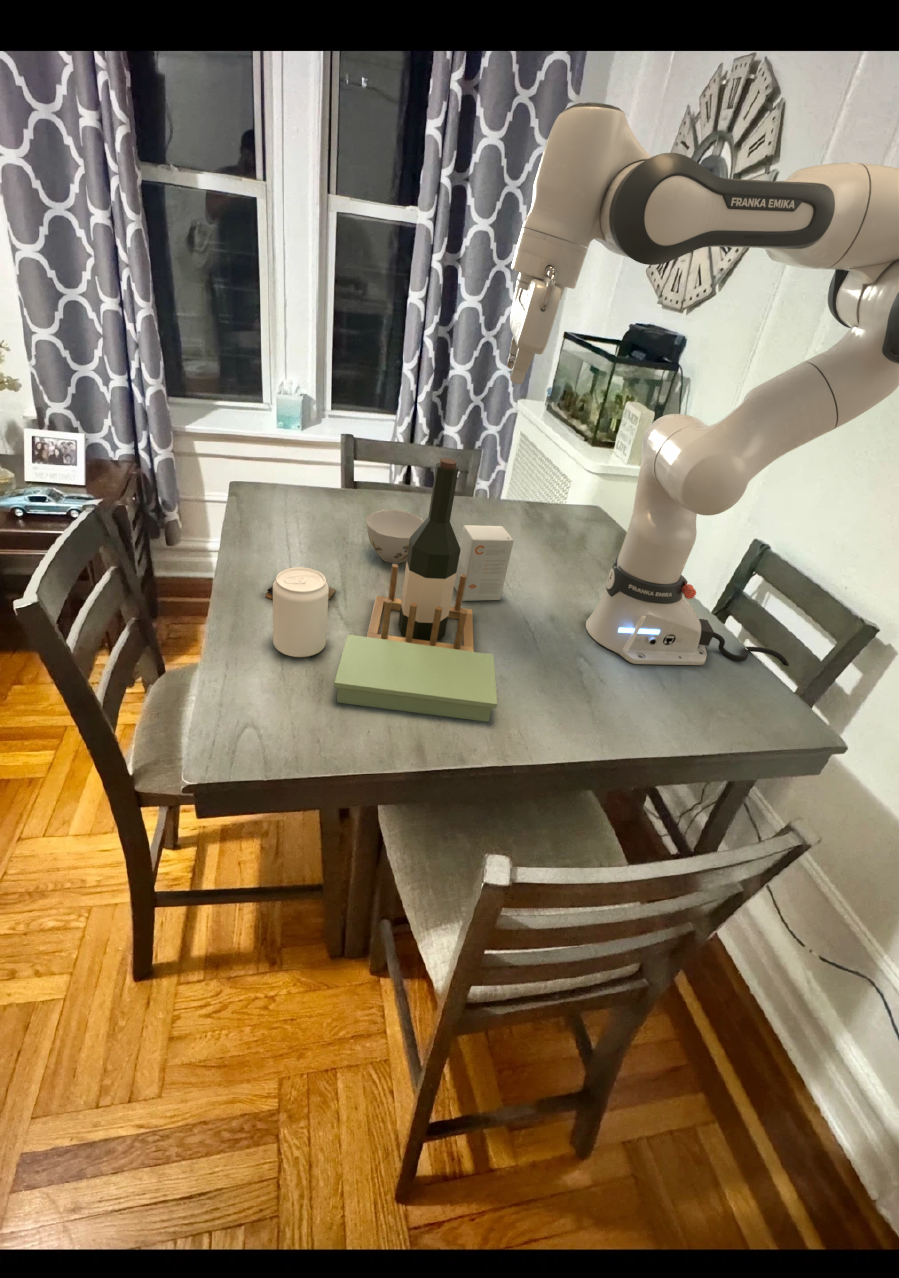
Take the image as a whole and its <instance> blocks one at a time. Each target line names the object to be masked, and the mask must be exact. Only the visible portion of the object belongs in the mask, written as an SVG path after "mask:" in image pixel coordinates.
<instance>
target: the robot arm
mask: <svg viewBox="0 0 899 1278" xmlns="http://www.w3.org/2000/svg"><path fill="white" fill-rule="evenodd" d="M593 240H595V241H596V242H599V243H600V244H602V245H603V247H604V248H606V249H607V250H608V251H610V252H611V253H613V254H615V255H619V256H622V257H626V258H630V259H631V260H633V261H635V262H636V263H638V264H642V265H649V266H657V265H662V264H666V263H669V262H672V261H674V260H677V259H679V258H681V257H683V256H685V255H687V254H689V253H691V252H694V251H696V250H700V249H703V248H754V249H764V250H765V252H766V255H767V256H768V258H769V259H770V260H771V261H773V262H776V263H779V264H782V265H786V266H790V267H795V268H800V269H801V268H802V269H809V270H831V271H832V270H833V271H834V272H833V275H832V278H831V280H830V284H829V287H828V292H827V306H828V310H829V312H830V314H831V315H832V317H833V318H834V319H835V320H836V321H837V322H838V323H839V324H841V325H842V326H843V327H846V328H848V331H847V332H846V333H845V335H844V336H843V337H842V338H841V339H839V340H838V341H837V342H836V343H835V344H834V345H832V346H831V347H830V348H828V349H827V350H825V351H822V352H821V353H819V354H816V355H814V356H813V357H810V358H809V359H808V358H807V359H806V360H804V361H802V362H800V363H799V364H797V365H795V366H793V367H791V368H789V369H787V370H785V371H784V372H781V373H779V374H778V375H776V376H773V377H772V378H770V379H768V380H766V381H764V382H763V383H761V384H758V385H757V386H754V387H752V388H751V389H750V390H749V391H748V392H747V393H746V395H745V396H744V398H743V400H742V402H740V404H738V406H737V407H736V408H735V409H734V410H732V411H731V412H730V413H728V414H727V415H726V416H724V418H722V419H720V420H719V421H717V422H716V423H713V424H709V425H708V424H706V423H705V422H703V421H702V420H701V419H699V418H698V417H696V416H693V415H688V414H683V413H669V414H665V415H663V416H661V417H658V418H657V419H656V420H654V421H653V422H652V423H651V424H650V425H649V426H648V427H647V428H646V430H645V432H644V434H643V436H642V439H641V440H642V441H641V459H640V467H639V472H638V477H637V484H636V489H635V494H634V495H635V496H634V502H633V509H632V514H631V516H630V522H629V525H628V527H627V531H626V534H625V536H624V540H623V542H622V546H621V548H620V551H619V554H618V556H616V558H615V559H614V561H613V564H612V566H611V568H610V570H609V572H608V576H607V579H606V583H605V589H604V592H603V594H602V596H601V598H600V600H599V601H598V604H597V605H596V607H595V608H594V610H593V612H592V613H591V615H589V617H588V618H587V619H586V621H585V629H586V631H587V633H588V634H589V636H590V637H591V638H592V639H593V640H594V641H595V642H597V643H598V644H599V645H601V646H603V647H604V648H606V649H608V650H610V651H612V652H614V653H616V654H618V655H620V656H621V657H622V658H623V659H624V660H626V662H627V661H628V662H629V663H631V664H633V665H667V666H668V665H671V666H704V665H705V663H706V659H707V656H708V653H707V648H706V646H707V647H709V646H710V643H711V642H712V640H713V638H714V639H716V640H717V641H718V646H717V647H718V651H719V652H720V653H721V654H722V655H723V656H725V657H726V658H728V659H730V660H734V661H737V662H738V661H739V662H743V661H747V659H748V658H749V653H762V654H767V655H770V656H772V657H775V658H776V659H778V660H779V661H780V662H781V664H782V665H783V666H786V667H789V666H790V663H789V662H788V660H787V658H786V657H785V656H784V655H783V654H781V653H780V652H778V651H775V650H773V649H771V648H767V647H761V646H746V648H747V649H748V650H746V649H745V647H743V648H742V650H741V651H742V652H741V655H738V654H734V653H732V652H730V651H728V650H727V649H726V648H725V645H726V640H725V639H724V637H723V636H722V635H721V634H719V633H717V632H715V631H714V629H713V627H712V625H711V624H710V622H709V620H708V619H705V618H700V617H699V616H698V614H697V613H696V611H695V610H694V609H693V607H692V606H691V605H690V603H689V602H688V600H692V599H693V598H695V597H696V596H697V590H696V589H695V588H694V586H693V584H689V583H688V580H687V578H686V577H685V576H684V575H682V574H683V571H684V569H685V566H686V564H687V562H688V559H689V557H690V555H691V552H692V550H693V548H694V546H695V543H696V539H697V534H698V533H697V532H698V531H697V515H700V516H715V515H719V514H722V513H724V512H726V511H728V510H730V509H731V508H733V507H734V506H735V505H736V504H737V503H738V502H739V501H740V500H741V499H742V497H743V496H744V494H745V493H746V491H747V488H748V486H749V483H750V482H752V480H753V479H754V478H755V477H756V476H757V475H759V474H760V473H761V472H762V471H763V470H765V468H767V467H768V466H769V465H771V464H772V463H774V462H775V461H777V460H778V459H779V458H781V457H783V456H785V455H786V454H788V453H790V452H792V451H794V450H797V449H798V448H800V447H801V446H804V445H806V444H808V443H810V442H812V441H813V440H815V439H818V438H819V437H821V436H824V435H825V434H828V433H829V432H832V431H833V430H836V429H837V428H840V427H842V426H843V425H845V424H847V423H849V422H850V421H853V420H854V419H856V418H858V417H859V416H861V415H863V414H864V413H866V412H867V411H869V410H871V409H872V408H873V407H875V406H876V405H878V404H880V403H881V402H883V401H884V400H885V399H886V398H888V397H889V396H891V395H892V394H893V393H894V392H895V391H896V390H897V389H898V387H899V168H898V167H894V166H888V165H887V166H886V165H881V164H874V163H865V162H864V163H863V162H835V163H833V162H832V163H824V164H817V165H811V166H807V167H803V168H799V169H796V171H794V172H792V173H791V174H790V175H788V177H787V178H785V180H761V179H742V178H728V177H722V176H718V175H716V174H714V173H713V172H712V171H709V170H708V169H707V168H705V167H704V166H703V165H701V163H699V162H697V160H694V159H693V158H691V157H689V156H687V155H685V154H682V153H679V152H664V153H659V154H656V155H653V156H651V155H650V154H649V153H648V152H647V150H646V149H645V148H644V147H643V146H642V144H641V143H640V142H639V140H638V139H637V138H636V135H635V134H634V132H633V131H632V128H631V127H630V125H629V123H628V120H627V116H626V113H625V111H623V110H622V109H621V108H619V107H618V106H615V105H612V104H607V103H603V102H579V103H575V104H572V105H570V106H568V107H567V108H565V109H564V110H563V111H562V112H560V113H559V114H558V116H557V117H556V119H555V121H554V123H553V124H552V127H551V129H550V132H549V135H548V137H547V139H546V143H545V145H544V149H543V151H542V154H541V158H540V160H539V164H538V168H537V171H536V175H535V178H534V182H533V187H532V200H531V205H530V208H529V210H528V213H527V215H526V217H525V219H524V221H523V223H522V226H521V229H520V233H519V237H518V241H517V244H516V247H515V251H514V254H513V259H512V262H511V266H510V268H511V270H512V271H515V272H517V273H518V275H517V279H516V283H515V288H514V295H513V300H512V304H511V305H512V306H511V311H510V316H509V328H510V330H511V333H512V338H511V341H510V342H511V343H510V347H509V354H508V358H507V361H506V366H507V368H508V369H509V370H511V372H510V375H509V380H510V382H511V383H513V384H516V385H522V384H523V383H524V381H525V378H526V375H527V372H528V370H529V368H530V366H531V364H532V361H533V359H534V357H535V355H542V354H544V352H545V350H546V348H547V345H548V343H549V339H550V336H551V333H552V329H553V327H554V323H555V320H556V316H557V312H558V309H559V306H560V301H561V300H562V299H563V296H564V292H565V290H566V288H567V289H573V290H574V289H576V287H577V284H578V281H579V278H580V275H581V272H582V268H583V266H584V263H585V260H586V258H587V257H586V256H587V253H588V252H589V251H588V250H589V247H590V245H591V243H592V241H593ZM687 599H688V600H687Z"/></svg>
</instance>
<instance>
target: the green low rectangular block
mask: <svg viewBox="0 0 899 1278" xmlns="http://www.w3.org/2000/svg"><path fill="white" fill-rule="evenodd" d="M333 687H334V688H337V694H336V695H337V696H336V703H338V704H346V705H354V706H360V707H361V706H362V707H369V708H376V709H377V708H378V709H385V710H394V711H400V712H408V713H416V714H423V715H424V714H425V715H431V716H439V717H440V716H441V717H446V718H447V717H448V718H454V719H462V720H470V721H477V722H484V723H485V722H486V723H489V722H490V717H491V714H492V711H493V710H492V709H497V707H498V695H497V682H496V669H495V655H494V654H493V653H486V652H485V653H484V652H479V651H478V652H477V651H474V652H471V651H464V650H456V649H449V648H442V647H435V646H427V645H420V644H413V643H406V642H398V641H391V640H384V639H377V638H369V637H367V636H362V635H355V634H347V635H346V639H345V642H344V647H343V649H342V653H341V656H340V660H339V664H338V668H337V671H336V675H335V678H334V681H333Z"/></svg>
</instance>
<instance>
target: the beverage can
mask: <svg viewBox="0 0 899 1278" xmlns="http://www.w3.org/2000/svg"><path fill="white" fill-rule="evenodd" d="M272 586H273V600H272V641H273V642H272V643H273V646H274V647H275V649H276V650H277V651H279V653H281V654H283V655H286V656H288V657H289V656H290V657H294V658H306V657H307V658H308V657H311V656H314V655H316V654H317V655H318V654H319V653H320V652H322V651H323V649H325V647H326V644H327V630H328V609H329V608H328V607H329V601H328V594H329V587H330V586H329V585H328V582H327V579H326V577H325V575H324V574H323V573H321V572H320V571H318V570H316V569H313V568H308V567H302V566H301V567H299V566H298V567H297V566H296V567H289V568H286V569H283V570H281V571H280V572H278V573H277V575H276V577H275V579H274V582H273V584H272Z"/></svg>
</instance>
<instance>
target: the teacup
mask: <svg viewBox="0 0 899 1278" xmlns="http://www.w3.org/2000/svg"><path fill="white" fill-rule="evenodd" d="M365 521H366V522H365V523H366V529H367V531H366V532H367V535H368V540H369V542H370V544H371V546H372V548H373V549H374V551H375V552H376V554H377V555H378V556H379V557H380V559H381V560H382V561H384V562H385V563H390V564H392V565H393V564H397V565H399V564H403V563H405V562H407V556H408V548H409V540H410V537H411V536H412V535H413V533H414V532H415V531H416V530H417V529H418V528H419V527H420V526H421V524H422V523H423V522H424V521H425V520H424V519H423V518H421V517H419V516H417V515H416V514H415V513H412V512H408V511H406V510H400V509H399V510H398V509H383V510H382V509H381V510H377V511H375V512H371V513H369V515H367V517H366V518H365Z"/></svg>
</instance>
